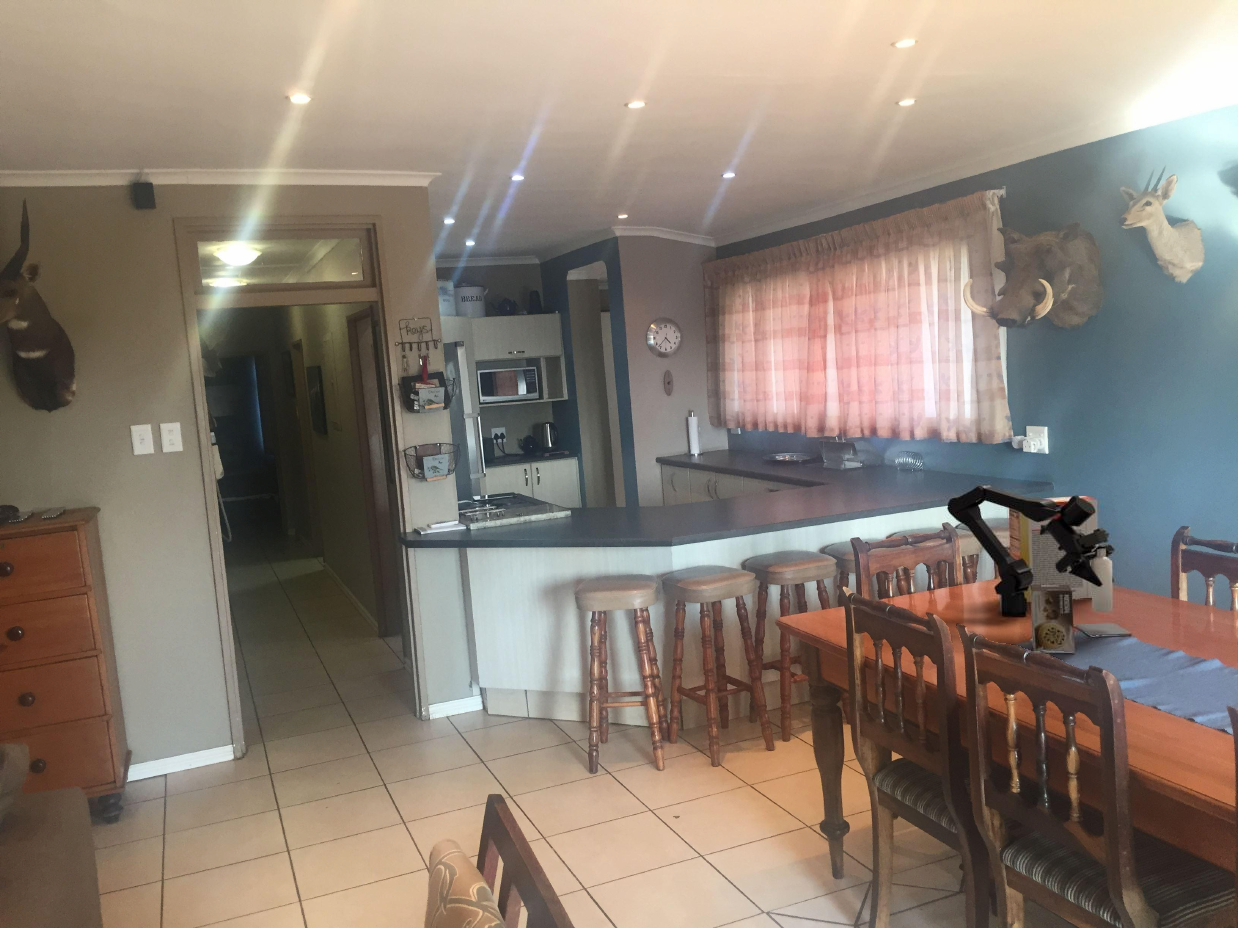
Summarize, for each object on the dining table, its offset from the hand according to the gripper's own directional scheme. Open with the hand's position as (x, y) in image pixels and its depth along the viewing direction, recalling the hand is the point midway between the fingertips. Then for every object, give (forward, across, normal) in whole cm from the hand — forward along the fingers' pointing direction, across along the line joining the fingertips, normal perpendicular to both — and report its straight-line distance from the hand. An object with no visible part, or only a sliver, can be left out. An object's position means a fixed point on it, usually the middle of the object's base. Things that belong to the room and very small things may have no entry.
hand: (1106, 584), depth 235 cm
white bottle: (+4, 0, +6) cm, 7 cm away
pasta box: (-12, +23, +31) cm, 41 cm away
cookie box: (+9, -23, +9) cm, 27 cm away
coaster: (+8, 0, +10) cm, 13 cm away
